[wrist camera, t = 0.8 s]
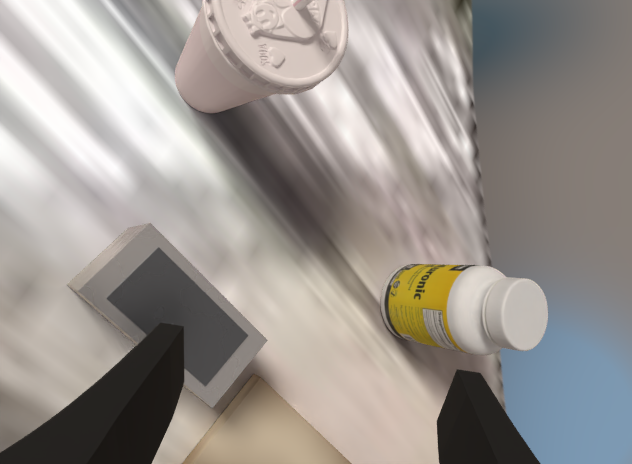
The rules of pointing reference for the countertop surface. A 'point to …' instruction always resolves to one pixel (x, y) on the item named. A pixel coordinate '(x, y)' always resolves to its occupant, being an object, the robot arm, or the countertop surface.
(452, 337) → the supplement bottle
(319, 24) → the smoothie
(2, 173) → the countertop surface
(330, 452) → the beige peg board
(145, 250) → the grey box
